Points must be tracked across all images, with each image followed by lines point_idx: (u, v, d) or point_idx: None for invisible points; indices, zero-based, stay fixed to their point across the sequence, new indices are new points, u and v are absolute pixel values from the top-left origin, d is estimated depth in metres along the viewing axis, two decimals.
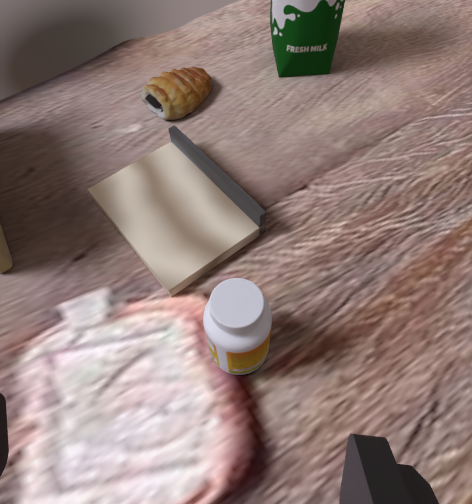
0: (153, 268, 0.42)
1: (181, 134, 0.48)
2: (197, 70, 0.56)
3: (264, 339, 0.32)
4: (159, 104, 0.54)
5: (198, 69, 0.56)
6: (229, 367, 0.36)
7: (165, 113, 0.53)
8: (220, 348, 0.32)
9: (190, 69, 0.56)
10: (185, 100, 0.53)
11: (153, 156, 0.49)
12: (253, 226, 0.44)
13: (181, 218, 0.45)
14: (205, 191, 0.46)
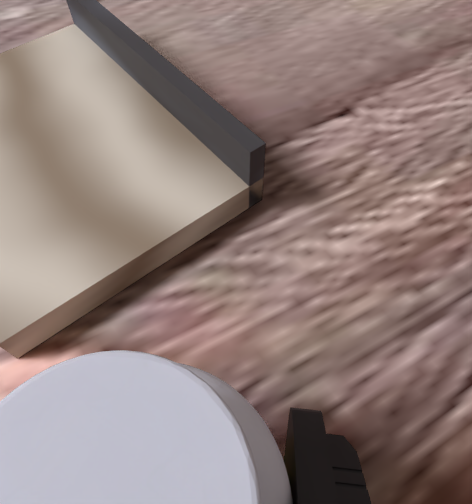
0: None
1: None
2: None
3: None
4: None
5: None
6: None
7: None
8: None
9: None
10: None
11: (32, 47, 0.24)
12: (235, 183, 0.18)
13: (66, 164, 0.19)
14: (131, 111, 0.21)
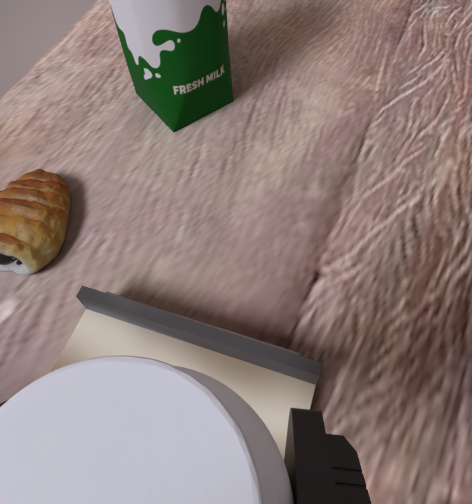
0: None
1: (103, 295, 0.28)
2: (35, 177, 0.35)
3: None
4: (10, 256, 0.31)
5: (35, 174, 0.35)
6: None
7: (28, 266, 0.31)
8: None
9: (23, 179, 0.35)
10: (48, 230, 0.32)
11: (72, 351, 0.28)
12: (306, 388, 0.26)
13: None
14: (195, 368, 0.27)
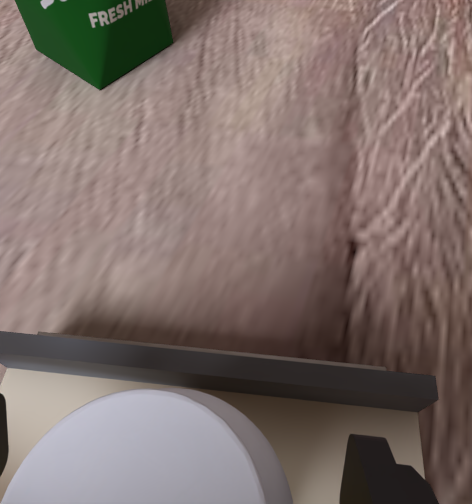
0: None
1: (33, 340, 0.16)
2: None
3: None
4: None
5: None
6: None
7: None
8: None
9: None
10: None
11: None
12: (404, 421, 0.16)
13: None
14: None
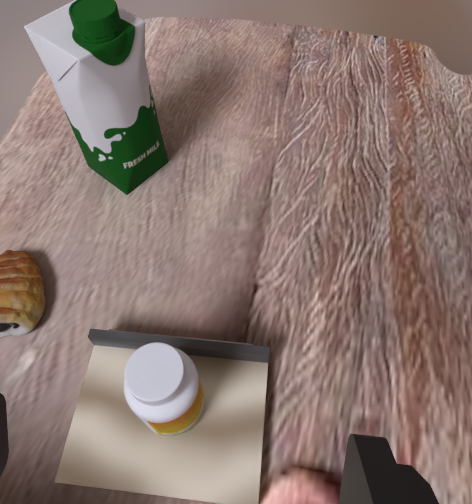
0: (220, 500, 0.33)
1: (108, 332, 0.38)
2: (8, 257, 0.43)
3: (188, 408, 0.30)
4: (9, 323, 0.40)
5: (6, 255, 0.44)
6: (157, 431, 0.33)
7: (27, 327, 0.40)
8: (139, 417, 0.30)
9: None
10: (34, 296, 0.41)
11: (92, 377, 0.38)
12: (262, 366, 0.38)
13: None
14: None
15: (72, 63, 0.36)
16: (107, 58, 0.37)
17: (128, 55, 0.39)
